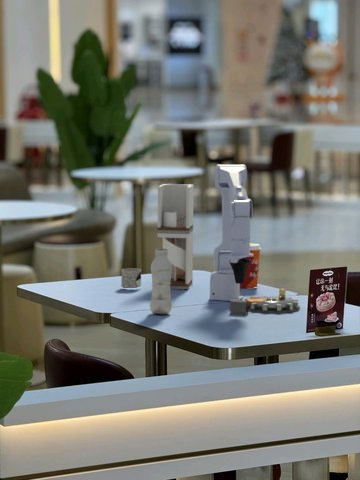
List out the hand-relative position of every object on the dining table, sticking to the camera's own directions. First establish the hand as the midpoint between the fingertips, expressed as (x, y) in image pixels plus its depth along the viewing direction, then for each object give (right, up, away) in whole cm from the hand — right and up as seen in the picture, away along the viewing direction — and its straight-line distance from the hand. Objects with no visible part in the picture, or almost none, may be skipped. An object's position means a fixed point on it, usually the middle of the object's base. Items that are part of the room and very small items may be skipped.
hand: (239, 283), depth 377 cm
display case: (-20, -3, +48) cm, 52 cm away
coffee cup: (+5, -3, +48) cm, 48 cm away
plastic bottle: (-24, -10, -1) cm, 26 cm away
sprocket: (+10, -8, +10) cm, 17 cm away
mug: (-35, -4, +44) cm, 57 cm away
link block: (0, -9, +1) cm, 10 cm away
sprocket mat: (+10, -8, +10) cm, 17 cm away
